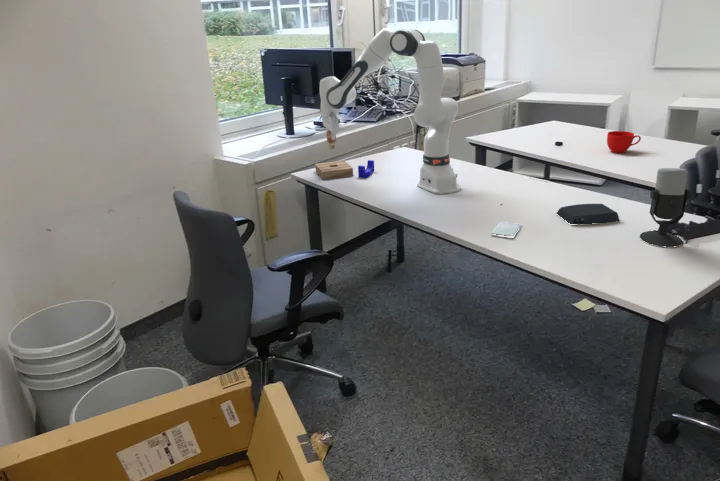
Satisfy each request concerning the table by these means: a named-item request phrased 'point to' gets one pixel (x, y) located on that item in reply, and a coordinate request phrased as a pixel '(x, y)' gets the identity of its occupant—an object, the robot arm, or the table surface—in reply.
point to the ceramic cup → (620, 141)
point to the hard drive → (506, 229)
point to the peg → (330, 140)
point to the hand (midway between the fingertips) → (331, 138)
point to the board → (334, 169)
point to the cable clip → (368, 171)
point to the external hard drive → (588, 214)
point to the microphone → (667, 205)
